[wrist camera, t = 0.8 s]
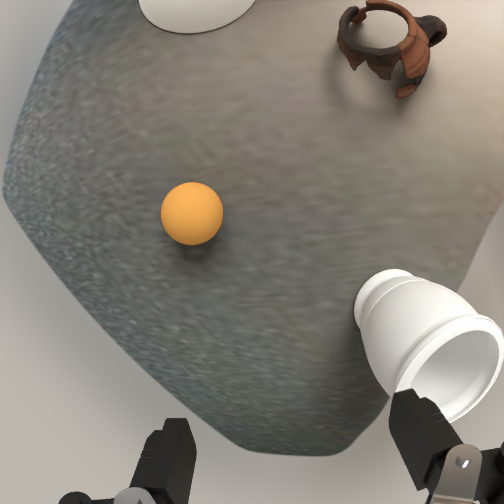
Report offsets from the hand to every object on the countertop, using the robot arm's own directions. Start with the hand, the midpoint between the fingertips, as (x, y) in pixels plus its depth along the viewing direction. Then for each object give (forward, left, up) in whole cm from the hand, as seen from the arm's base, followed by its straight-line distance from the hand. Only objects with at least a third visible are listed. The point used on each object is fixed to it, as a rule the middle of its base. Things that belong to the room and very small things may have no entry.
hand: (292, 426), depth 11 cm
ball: (-7, -5, -19) cm, 21 cm away
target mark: (-31, +1, -22) cm, 38 cm away
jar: (+8, +12, -22) cm, 26 cm away
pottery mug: (-18, +18, -22) cm, 34 cm away
